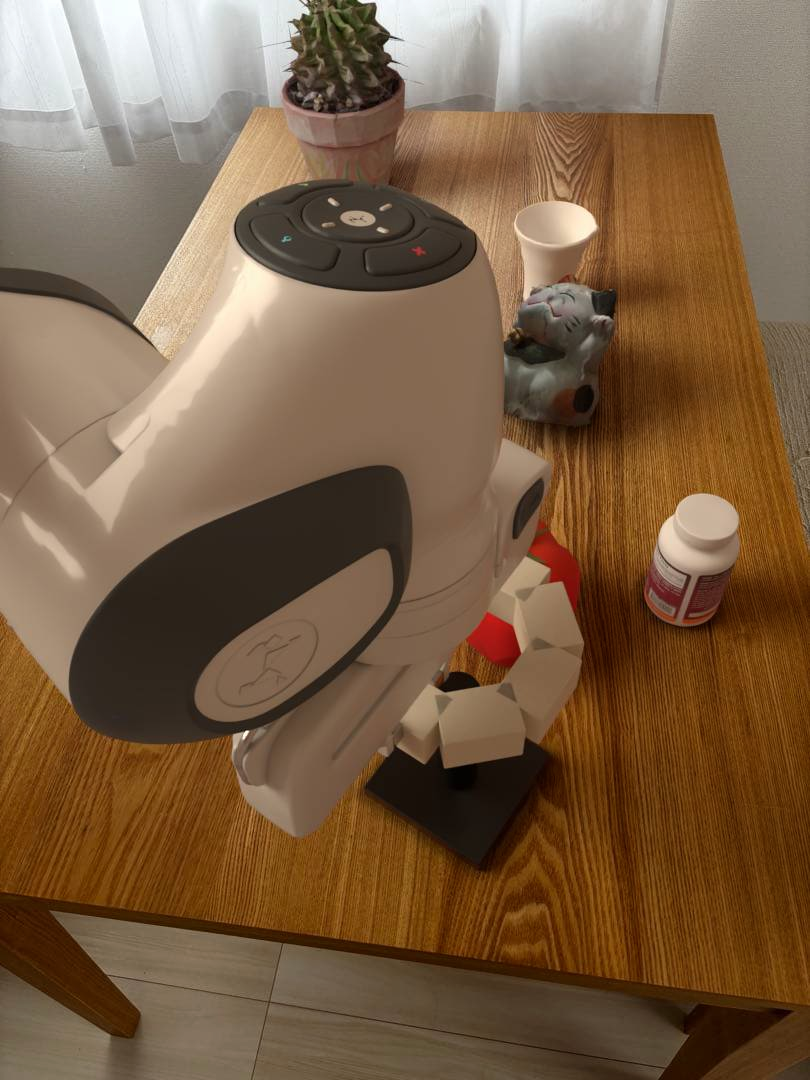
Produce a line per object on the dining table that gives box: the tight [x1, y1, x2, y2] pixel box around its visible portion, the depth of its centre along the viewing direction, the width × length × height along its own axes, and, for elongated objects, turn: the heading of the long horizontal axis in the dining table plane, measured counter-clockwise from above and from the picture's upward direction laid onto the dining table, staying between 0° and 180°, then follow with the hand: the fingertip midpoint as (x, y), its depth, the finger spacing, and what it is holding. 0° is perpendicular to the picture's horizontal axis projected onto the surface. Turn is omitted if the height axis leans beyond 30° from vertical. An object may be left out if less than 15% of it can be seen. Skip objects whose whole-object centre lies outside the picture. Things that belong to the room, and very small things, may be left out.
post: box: [363, 670, 550, 871], centre depth 60 cm, size 10×10×13 cm
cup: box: [513, 200, 601, 302], centre depth 97 cm, size 9×9×10 cm
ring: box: [397, 556, 585, 768], centre depth 50 cm, size 13×13×3 cm
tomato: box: [464, 519, 582, 669], centre depth 69 cm, size 11×13×10 cm
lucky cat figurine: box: [504, 273, 618, 427], centre depth 86 cm, size 15×12×14 cm
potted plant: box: [255, 0, 427, 185], centre depth 108 cm, size 18×20×25 cm
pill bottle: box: [643, 493, 741, 627], centre depth 70 cm, size 6×6×11 cm
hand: (407, 709), depth 48 cm, fingers closed on ring, 3 cm apart
